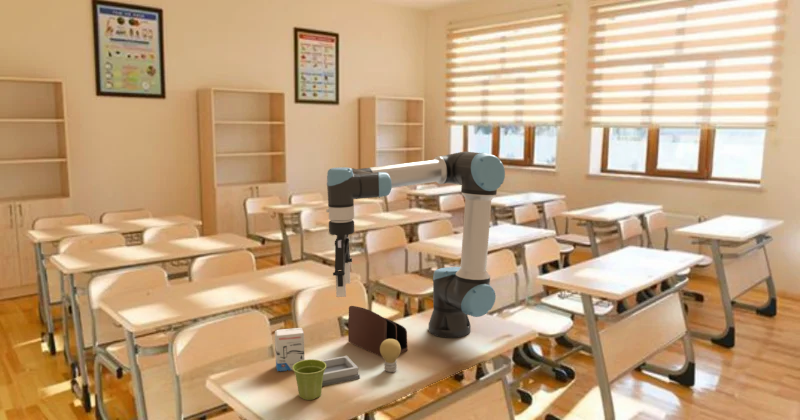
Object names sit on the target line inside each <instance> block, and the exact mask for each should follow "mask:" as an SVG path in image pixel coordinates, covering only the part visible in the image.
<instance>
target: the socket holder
mask: <svg viewBox="0 0 800 420" xmlns="http://www.w3.org/2000/svg"><path fill="white" fill-rule="evenodd" d="M320 361H323V362H325V363H326V369H325V372H324V374H323V382H322V387H324V386H329V385H333V384H340V383H344V382H349V381H354V380H358V379H360V378H361V376H360V374H359V367H358V365H356V364H355V362H353V360H352V359H351V358H350V357H349V356H348V355H343V356H337V357H333V358H327V359H322V360H320Z"/></svg>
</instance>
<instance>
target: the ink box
mask: <svg viewBox="0 0 800 420" xmlns="http://www.w3.org/2000/svg"><path fill="white" fill-rule="evenodd" d="M274 348H275V367H276V371H277V372H278V371H280V372H286V371H287V370H288V371H293V369H292V367H293V365H294V364H295V363H297V362H299V361H303V360H305V334H304V330H303V328H302V327H294V328H283V329H276V330H275V331H274Z"/></svg>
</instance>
